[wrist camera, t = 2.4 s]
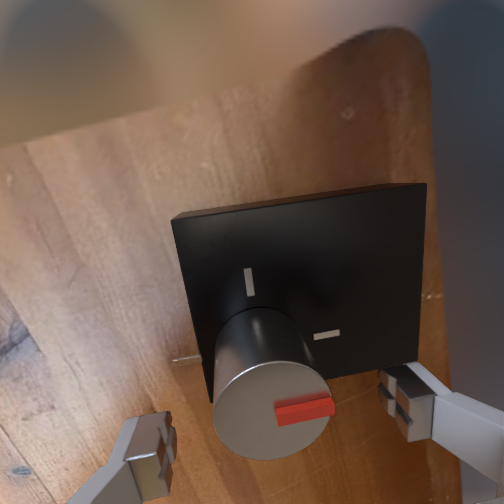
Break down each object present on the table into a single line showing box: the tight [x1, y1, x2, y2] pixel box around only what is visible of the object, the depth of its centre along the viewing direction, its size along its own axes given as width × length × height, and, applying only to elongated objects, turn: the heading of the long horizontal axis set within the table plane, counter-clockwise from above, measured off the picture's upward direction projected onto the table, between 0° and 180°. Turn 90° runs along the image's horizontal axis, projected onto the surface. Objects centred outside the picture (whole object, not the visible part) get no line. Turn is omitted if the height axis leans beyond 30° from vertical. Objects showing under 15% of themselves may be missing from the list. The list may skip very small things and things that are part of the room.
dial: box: [213, 308, 335, 460], centre depth 11 cm, size 4×4×4 cm
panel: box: [171, 183, 427, 403], centre depth 14 cm, size 13×11×3 cm
